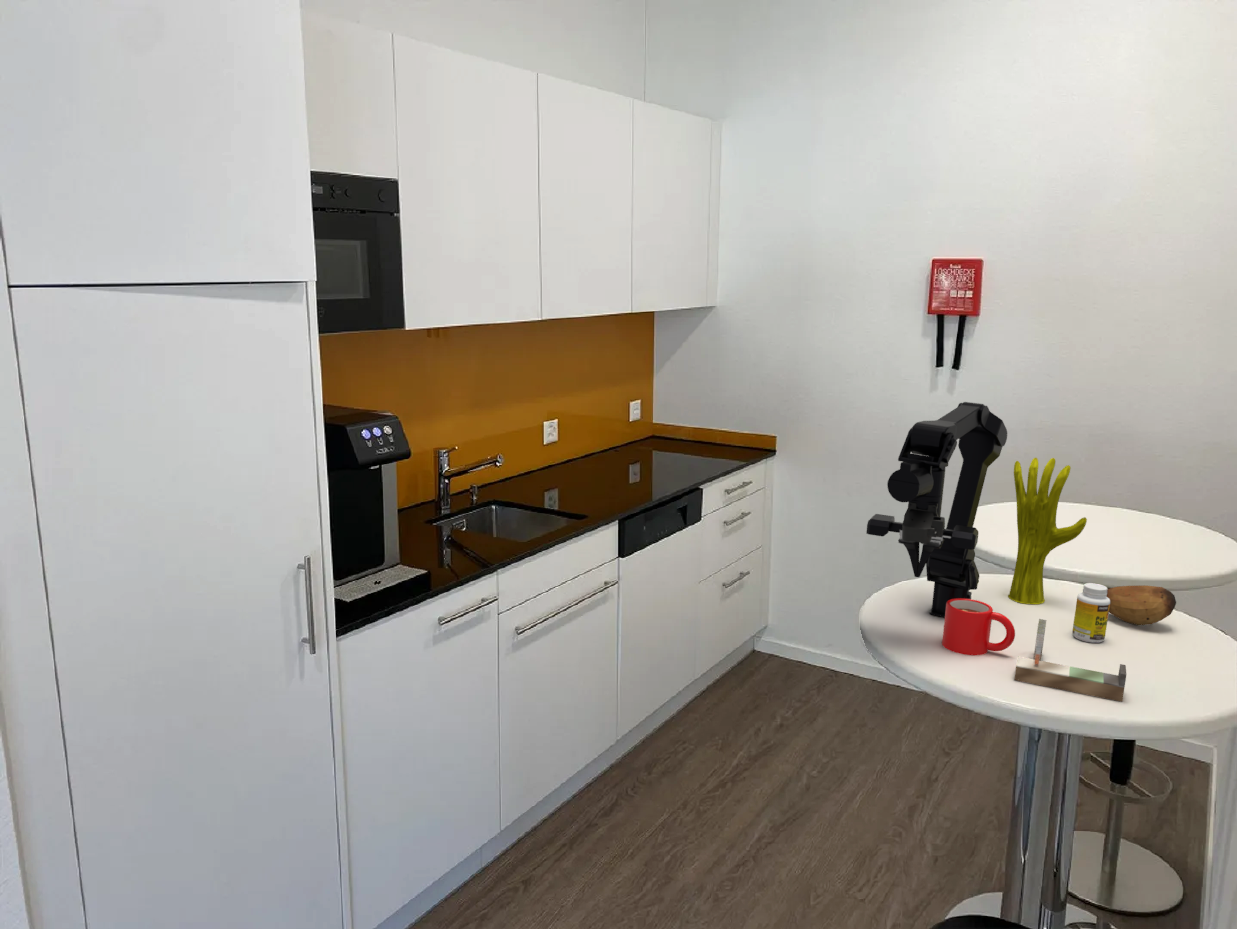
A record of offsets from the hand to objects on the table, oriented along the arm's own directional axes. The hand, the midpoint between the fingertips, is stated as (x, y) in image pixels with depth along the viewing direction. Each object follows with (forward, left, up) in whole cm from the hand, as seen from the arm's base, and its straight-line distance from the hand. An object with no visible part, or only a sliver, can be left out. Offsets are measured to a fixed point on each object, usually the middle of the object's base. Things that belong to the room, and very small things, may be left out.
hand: (917, 576), depth 174 cm
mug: (+11, 0, -12) cm, 16 cm away
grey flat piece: (+22, -3, -11) cm, 24 cm away
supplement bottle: (+29, +17, -12) cm, 36 cm away
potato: (+37, +31, -12) cm, 50 cm away
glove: (+19, +35, -12) cm, 42 cm away
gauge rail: (+26, -9, -12) cm, 30 cm away
